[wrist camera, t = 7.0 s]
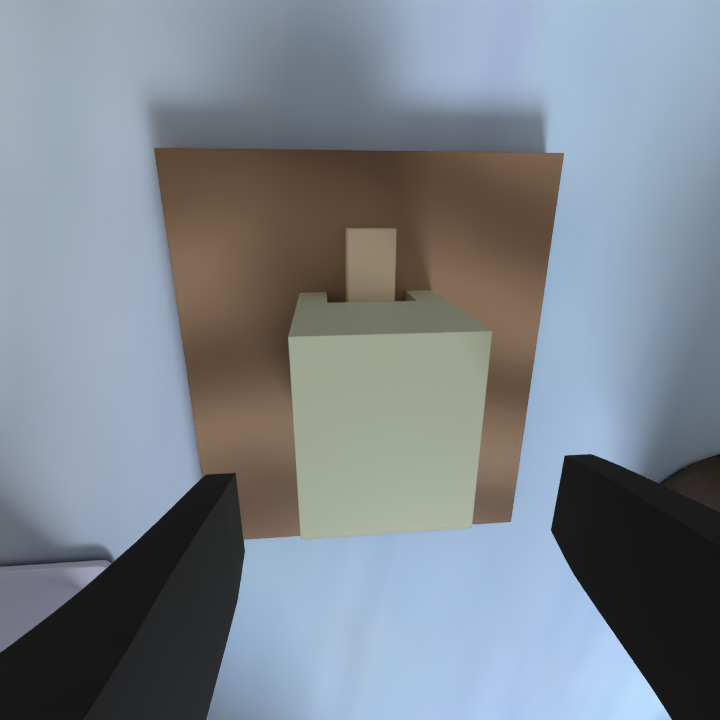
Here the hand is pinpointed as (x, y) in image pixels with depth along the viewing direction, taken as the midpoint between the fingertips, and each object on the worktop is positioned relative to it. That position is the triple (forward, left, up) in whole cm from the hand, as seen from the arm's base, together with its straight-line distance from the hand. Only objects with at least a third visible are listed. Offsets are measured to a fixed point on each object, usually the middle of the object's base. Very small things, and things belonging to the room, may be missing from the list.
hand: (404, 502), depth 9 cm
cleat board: (0, 0, -9) cm, 9 cm away
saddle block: (0, 0, -8) cm, 8 cm away
